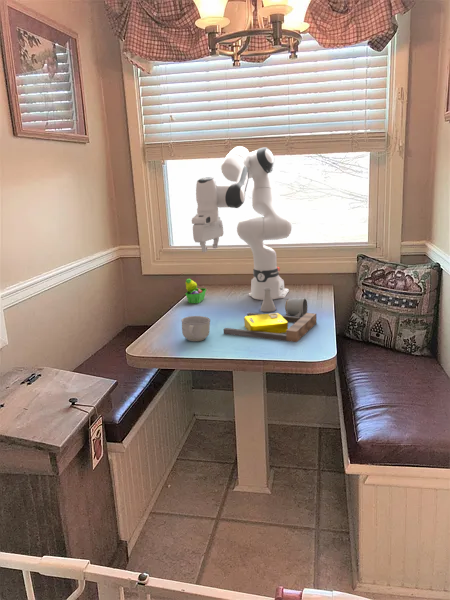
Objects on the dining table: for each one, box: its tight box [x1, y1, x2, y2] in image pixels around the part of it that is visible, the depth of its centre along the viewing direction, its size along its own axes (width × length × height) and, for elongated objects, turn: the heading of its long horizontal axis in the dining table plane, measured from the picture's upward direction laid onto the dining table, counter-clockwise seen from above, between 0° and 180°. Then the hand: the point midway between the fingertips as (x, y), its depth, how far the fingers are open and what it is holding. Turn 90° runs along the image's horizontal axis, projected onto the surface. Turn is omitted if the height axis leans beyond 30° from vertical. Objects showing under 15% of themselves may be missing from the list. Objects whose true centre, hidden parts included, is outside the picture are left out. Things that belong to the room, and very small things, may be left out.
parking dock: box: [223, 312, 317, 343], centre depth 203 cm, size 24×30×4 cm
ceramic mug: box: [284, 297, 308, 317], centre depth 217 cm, size 11×8×8 cm
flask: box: [259, 288, 277, 313], centre depth 228 cm, size 7×7×10 cm
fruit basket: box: [185, 278, 207, 304], centre depth 251 cm, size 11×9×11 cm
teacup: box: [181, 315, 211, 342], centre depth 194 cm, size 14×11×8 cm
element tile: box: [243, 312, 289, 334], centre depth 204 cm, size 15×15×5 cm
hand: (210, 249), depth 219 cm, fingers open, 8 cm apart
